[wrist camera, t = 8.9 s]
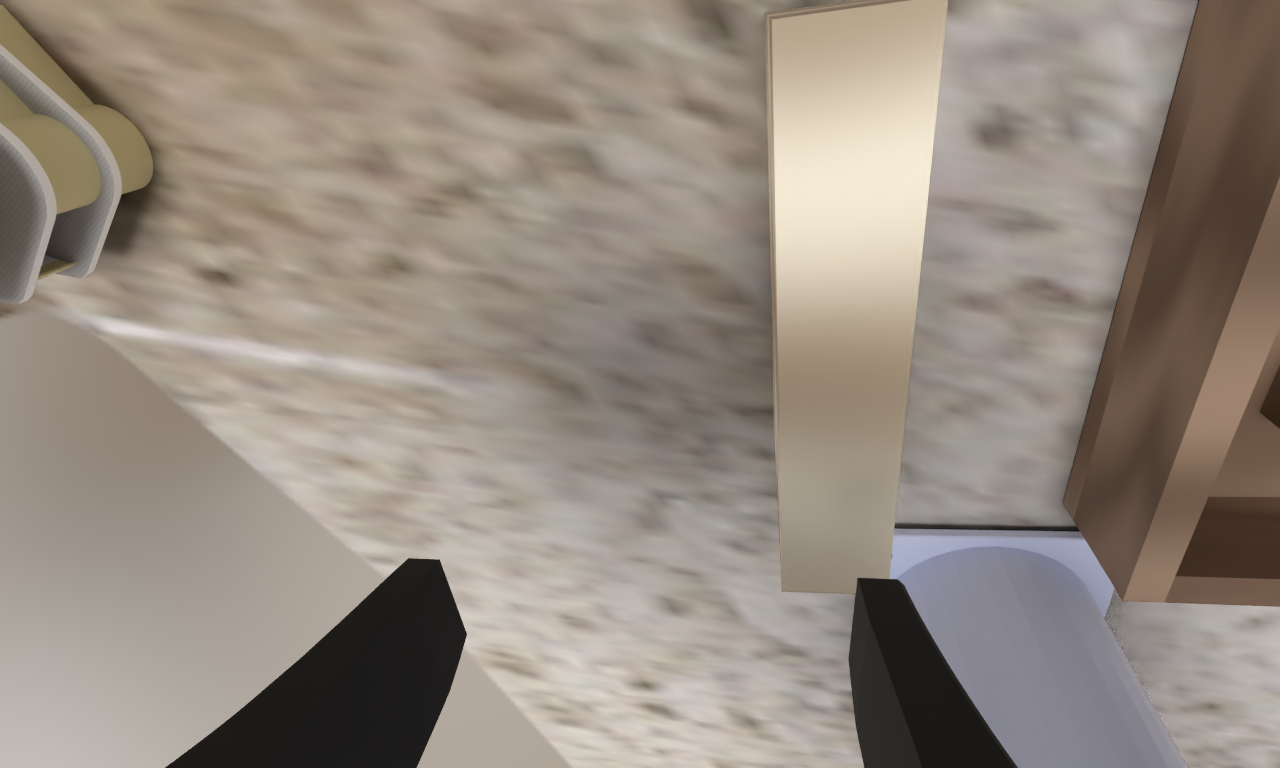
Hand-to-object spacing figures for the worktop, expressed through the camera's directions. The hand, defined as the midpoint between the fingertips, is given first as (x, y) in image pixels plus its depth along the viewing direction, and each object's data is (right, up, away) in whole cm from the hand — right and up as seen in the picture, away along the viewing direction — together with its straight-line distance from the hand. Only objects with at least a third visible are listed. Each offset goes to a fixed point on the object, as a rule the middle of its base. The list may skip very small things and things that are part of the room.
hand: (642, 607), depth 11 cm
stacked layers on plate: (-18, +12, +9) cm, 23 cm away
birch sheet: (+5, +8, +7) cm, 11 cm away
